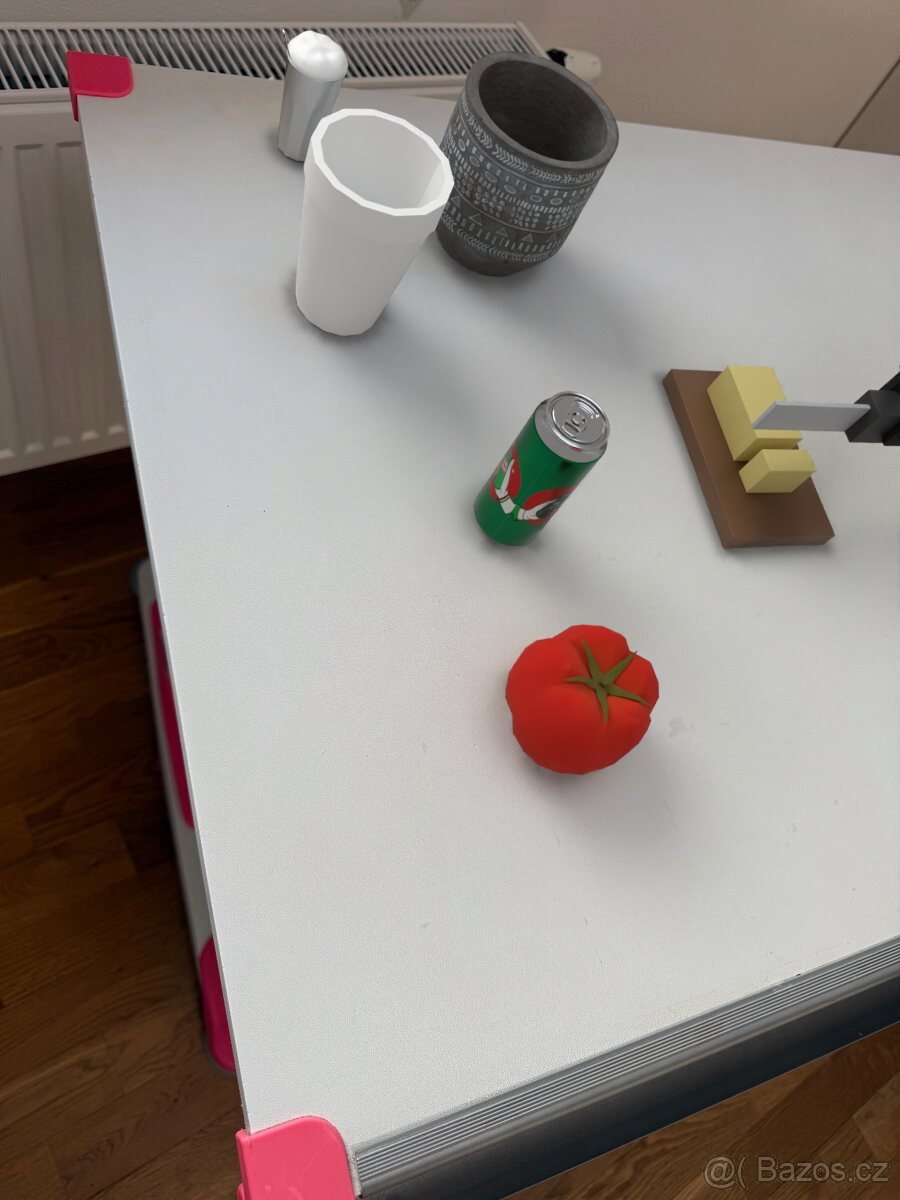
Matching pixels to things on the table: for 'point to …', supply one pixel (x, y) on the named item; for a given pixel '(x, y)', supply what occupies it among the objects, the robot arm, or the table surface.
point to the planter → (521, 161)
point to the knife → (837, 416)
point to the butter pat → (777, 471)
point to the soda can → (542, 468)
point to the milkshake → (308, 89)
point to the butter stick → (748, 410)
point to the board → (718, 474)
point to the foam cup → (364, 214)
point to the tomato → (580, 699)
